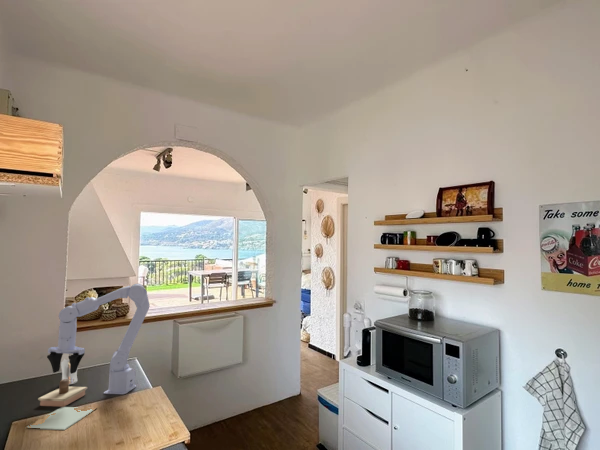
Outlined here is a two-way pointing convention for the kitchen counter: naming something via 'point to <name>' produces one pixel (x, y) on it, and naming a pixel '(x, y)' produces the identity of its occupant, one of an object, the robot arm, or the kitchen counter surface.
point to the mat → (62, 419)
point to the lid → (63, 392)
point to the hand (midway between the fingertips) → (64, 372)
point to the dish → (62, 403)
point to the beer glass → (68, 369)
